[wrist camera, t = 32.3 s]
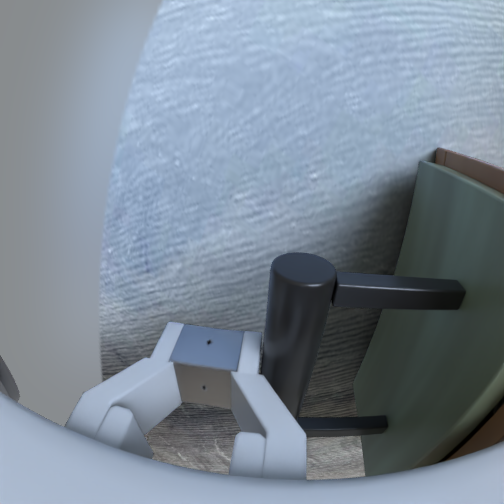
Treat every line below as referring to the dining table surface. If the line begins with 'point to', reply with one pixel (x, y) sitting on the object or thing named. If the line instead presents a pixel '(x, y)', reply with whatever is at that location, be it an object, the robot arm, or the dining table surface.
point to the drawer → (405, 328)
